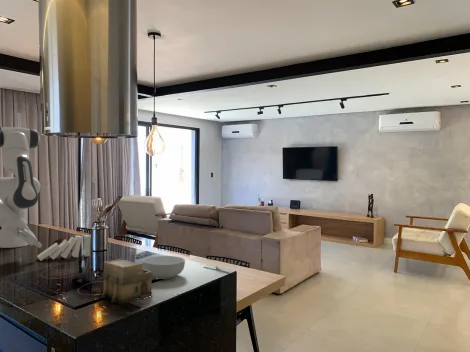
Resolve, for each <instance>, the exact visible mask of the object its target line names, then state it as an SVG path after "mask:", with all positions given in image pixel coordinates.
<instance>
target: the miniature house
mask: <svg viewBox="0 0 470 352" xmlns="http://www.w3.org/2000/svg"><path fill="white" fill-rule="evenodd" d="M152 278H153V276H152V272H151V271H148V270H144V269H143V263H141V262H140V263H139V262H138V263H137V262H133V261H130V260H127V259H125V258H119V259H113V260H107V261H103V275H102V276H101V279H102V280H103V291H102V295H101V299H102V298H104V299H110V298H111V299H110V303H112V304H114V303H117V302H118V303H120V304H125V303H129V302H132V301H135V300H134V299H136V300H138V299H137V298H139V299H140V298H141V300H143V299H144V298H146V297H149V296H151V297H150V298H153V293H152V285H153V284H152V282H153V281H152V280H153V279H154V278H153V279H152ZM151 294H152V295H151ZM106 297H107V298H106ZM146 299H147V298H146ZM144 300H145V299H144Z"/></svg>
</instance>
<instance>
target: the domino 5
mask: <svg viewBox="0 0 470 352" xmlns="http://www.w3.org/2000/svg"><path fill="white" fill-rule="evenodd" d="M90 249H91V235H89V234H84V235H83V252H82V253H83V254H82V255H83V256H84V257H85V258H86V257H90V253H91V250H90Z"/></svg>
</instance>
